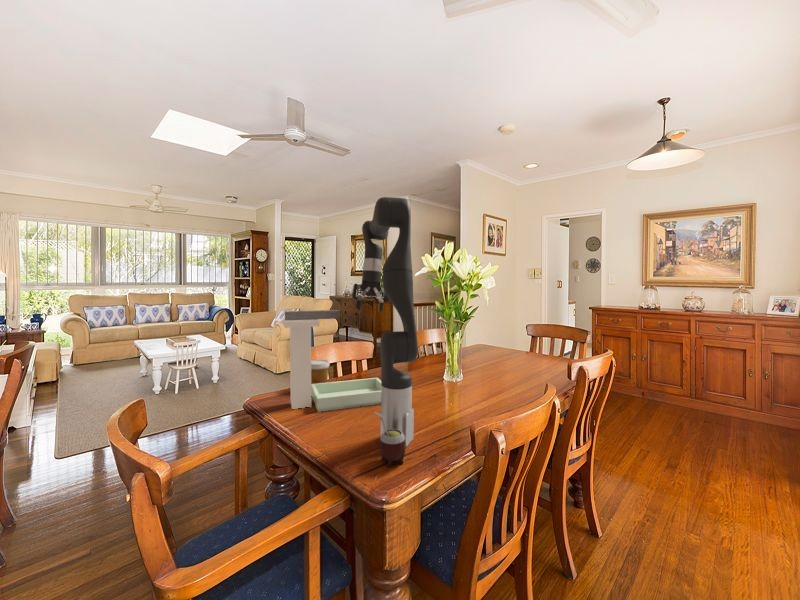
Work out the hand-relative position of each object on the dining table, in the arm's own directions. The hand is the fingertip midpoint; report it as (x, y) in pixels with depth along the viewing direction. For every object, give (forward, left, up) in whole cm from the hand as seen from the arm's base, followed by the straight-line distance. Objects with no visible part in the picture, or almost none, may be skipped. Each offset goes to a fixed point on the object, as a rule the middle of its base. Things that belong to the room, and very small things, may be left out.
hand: (369, 311), depth 139 cm
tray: (+6, +4, -36) cm, 36 cm away
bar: (+17, +14, -3) cm, 22 cm away
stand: (+20, +17, -36) cm, 44 cm away
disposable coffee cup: (+25, -1, -36) cm, 44 cm away
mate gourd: (-29, +40, -36) cm, 61 cm away
